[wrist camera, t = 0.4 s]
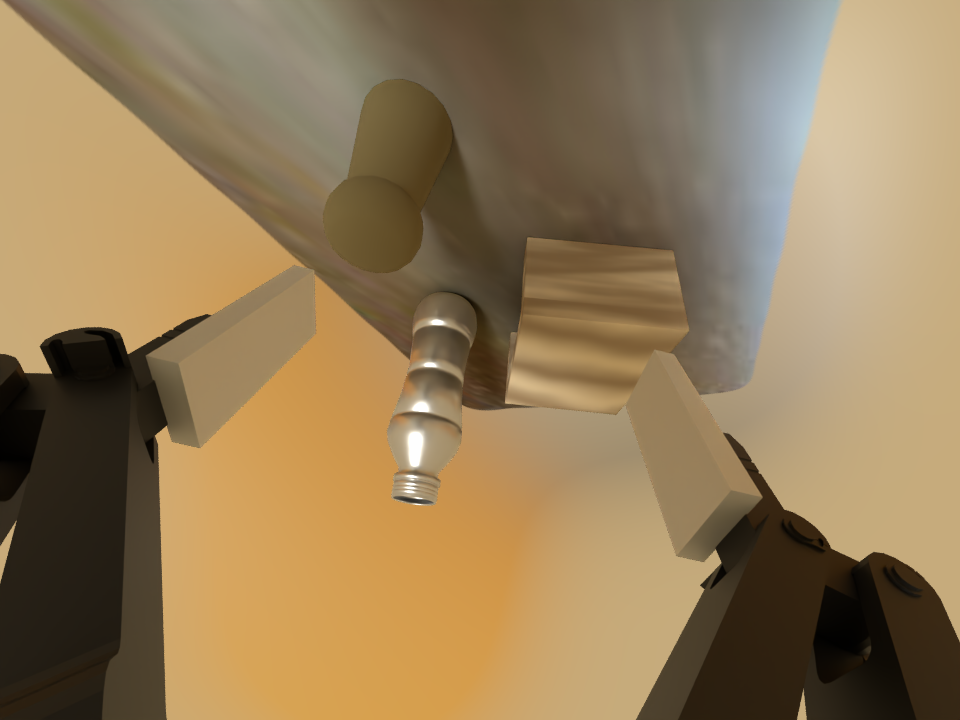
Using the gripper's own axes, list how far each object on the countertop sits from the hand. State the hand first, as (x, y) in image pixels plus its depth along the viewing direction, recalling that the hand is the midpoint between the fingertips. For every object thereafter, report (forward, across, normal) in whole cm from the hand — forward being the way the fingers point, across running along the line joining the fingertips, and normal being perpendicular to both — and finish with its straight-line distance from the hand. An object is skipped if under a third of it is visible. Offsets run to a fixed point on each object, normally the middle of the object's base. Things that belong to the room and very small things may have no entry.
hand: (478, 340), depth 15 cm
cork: (+16, -8, +5) cm, 19 cm away
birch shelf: (+24, +9, -7) cm, 26 cm away
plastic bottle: (+25, -4, -10) cm, 27 cm away
